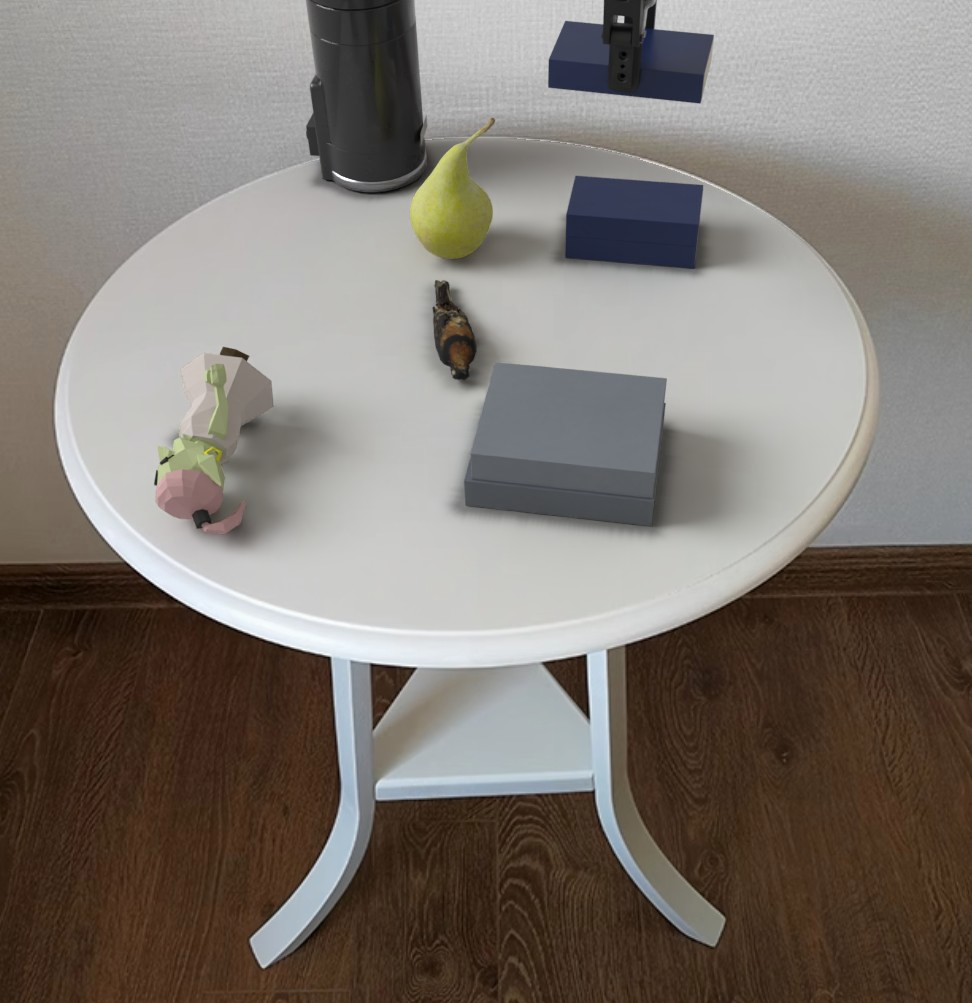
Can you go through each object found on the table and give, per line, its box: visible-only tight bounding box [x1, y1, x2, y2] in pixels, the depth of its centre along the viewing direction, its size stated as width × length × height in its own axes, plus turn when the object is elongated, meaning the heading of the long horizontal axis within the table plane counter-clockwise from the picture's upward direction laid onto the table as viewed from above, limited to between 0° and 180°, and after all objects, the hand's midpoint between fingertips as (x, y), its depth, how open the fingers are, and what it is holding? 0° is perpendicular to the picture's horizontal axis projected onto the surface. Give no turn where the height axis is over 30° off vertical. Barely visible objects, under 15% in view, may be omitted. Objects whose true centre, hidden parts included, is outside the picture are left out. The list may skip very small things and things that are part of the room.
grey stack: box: [463, 361, 668, 527], centre depth 88 cm, size 13×10×5 cm
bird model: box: [431, 279, 477, 381], centre depth 99 cm, size 3×14×3 cm, turn 6°
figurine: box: [153, 346, 275, 535], centre depth 88 cm, size 9×7×15 cm
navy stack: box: [564, 175, 704, 269], centre depth 107 cm, size 6×11×4 cm, turn 80°
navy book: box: [547, 20, 715, 105], centre depth 90 cm, size 6×11×2 cm, turn 76°
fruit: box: [409, 117, 496, 260], centre depth 104 cm, size 7×8×12 cm
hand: (630, 66), depth 90 cm, fingers closed on navy book, 6 cm apart
